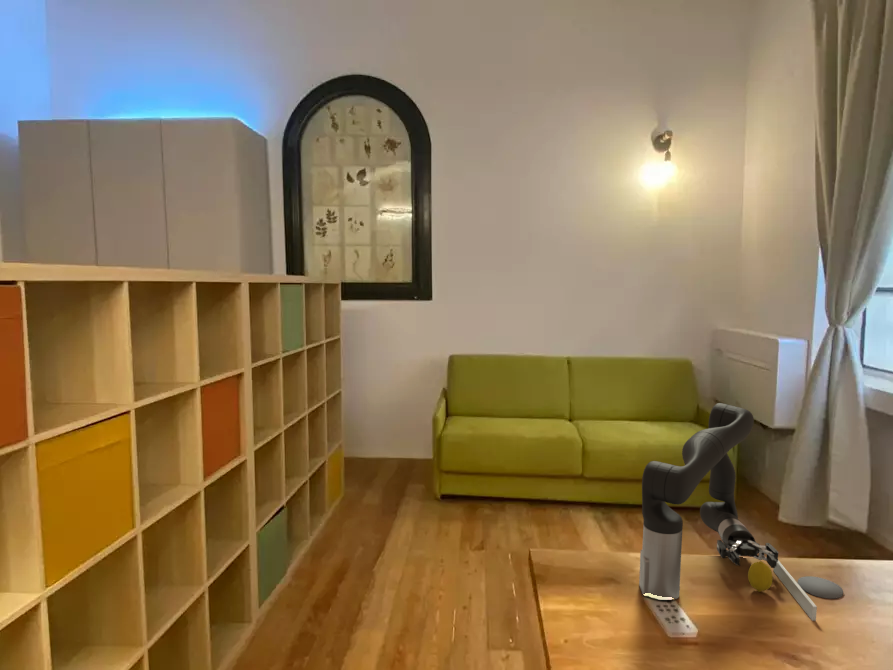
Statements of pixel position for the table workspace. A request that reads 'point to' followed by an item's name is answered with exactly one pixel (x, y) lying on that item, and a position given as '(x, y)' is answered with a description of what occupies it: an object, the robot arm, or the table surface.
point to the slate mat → (820, 587)
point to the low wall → (796, 591)
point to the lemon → (760, 576)
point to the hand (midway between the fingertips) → (756, 563)
